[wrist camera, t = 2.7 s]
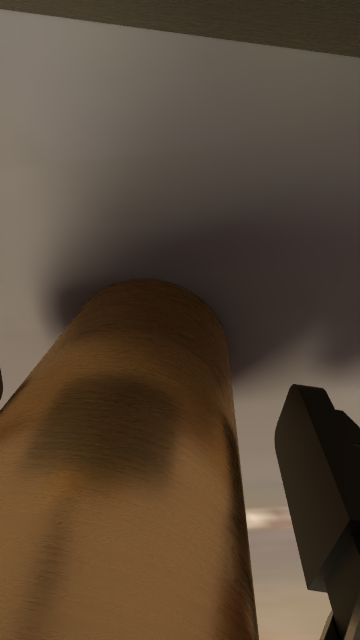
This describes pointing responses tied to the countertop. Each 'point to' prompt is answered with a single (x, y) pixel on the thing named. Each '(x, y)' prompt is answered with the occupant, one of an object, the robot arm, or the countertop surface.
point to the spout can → (126, 479)
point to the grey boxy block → (223, 19)
